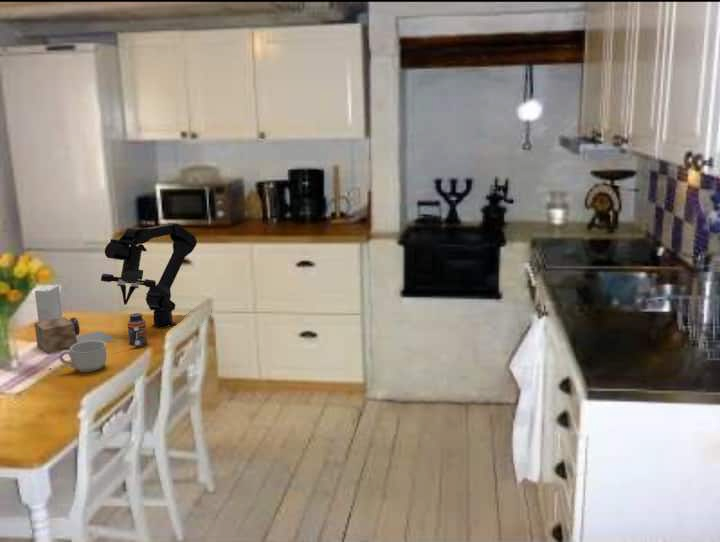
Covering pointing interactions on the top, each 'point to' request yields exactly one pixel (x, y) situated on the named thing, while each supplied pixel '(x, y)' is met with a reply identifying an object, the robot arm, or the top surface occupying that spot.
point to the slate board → (88, 337)
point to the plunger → (75, 325)
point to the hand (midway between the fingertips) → (125, 304)
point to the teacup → (86, 355)
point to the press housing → (55, 335)
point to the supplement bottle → (137, 330)
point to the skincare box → (48, 303)
